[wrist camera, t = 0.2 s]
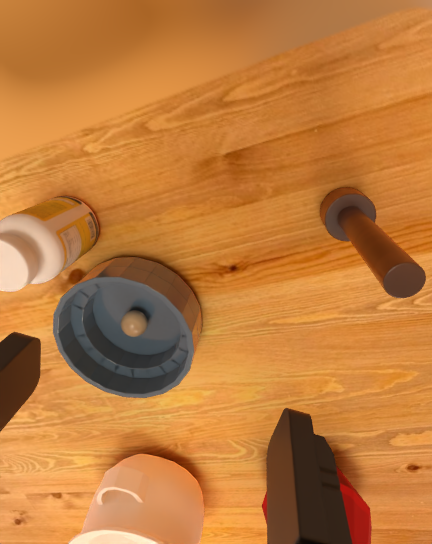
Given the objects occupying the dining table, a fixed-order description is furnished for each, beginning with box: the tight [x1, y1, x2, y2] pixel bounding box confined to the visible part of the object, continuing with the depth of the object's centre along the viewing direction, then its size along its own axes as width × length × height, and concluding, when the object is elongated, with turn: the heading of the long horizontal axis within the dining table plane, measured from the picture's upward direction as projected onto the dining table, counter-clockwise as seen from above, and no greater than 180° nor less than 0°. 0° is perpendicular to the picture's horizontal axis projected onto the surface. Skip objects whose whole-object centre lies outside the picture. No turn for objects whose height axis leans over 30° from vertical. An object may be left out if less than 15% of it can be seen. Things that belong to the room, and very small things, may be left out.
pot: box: [68, 454, 204, 544], centre depth 49 cm, size 22×17×12 cm
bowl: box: [53, 257, 202, 398], centre depth 39 cm, size 15×15×6 cm
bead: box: [121, 310, 148, 337], centre depth 39 cm, size 3×3×3 cm
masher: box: [320, 187, 426, 298], centre depth 26 cm, size 4×4×16 cm
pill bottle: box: [0, 196, 99, 292], centre depth 32 cm, size 6×6×12 cm
